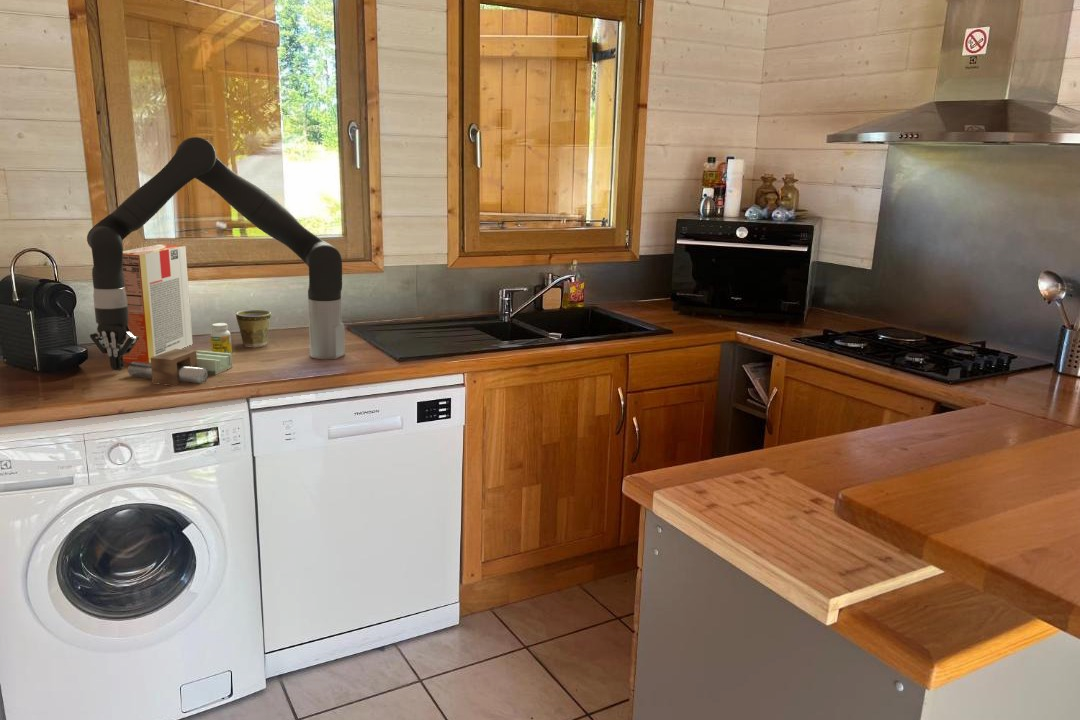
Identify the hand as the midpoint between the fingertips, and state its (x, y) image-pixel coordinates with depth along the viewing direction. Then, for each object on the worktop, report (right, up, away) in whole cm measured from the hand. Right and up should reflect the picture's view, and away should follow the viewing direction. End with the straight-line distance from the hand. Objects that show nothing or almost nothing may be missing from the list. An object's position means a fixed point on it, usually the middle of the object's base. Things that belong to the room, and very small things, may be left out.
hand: (117, 369), depth 204 cm
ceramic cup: (+22, +7, +37) cm, 44 cm away
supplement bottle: (+19, +3, +21) cm, 28 cm away
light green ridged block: (+20, 0, +8) cm, 22 cm away
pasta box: (0, +4, +22) cm, 23 cm away
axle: (+14, -3, -2) cm, 15 cm away
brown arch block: (+16, -3, -2) cm, 17 cm away
